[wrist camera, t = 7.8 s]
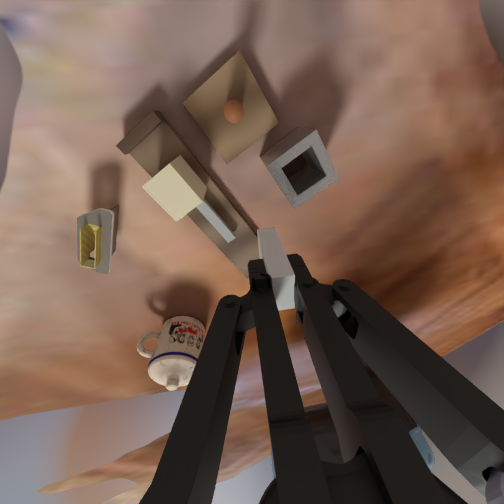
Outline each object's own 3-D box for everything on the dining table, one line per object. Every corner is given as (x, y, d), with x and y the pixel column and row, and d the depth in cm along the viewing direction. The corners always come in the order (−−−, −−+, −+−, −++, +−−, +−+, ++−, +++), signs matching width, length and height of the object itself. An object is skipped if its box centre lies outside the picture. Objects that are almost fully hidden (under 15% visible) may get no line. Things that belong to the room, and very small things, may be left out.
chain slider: (242, 230, 34) (244, 250, 29) (221, 244, 35) (220, 266, 29) (180, 155, 28) (169, 163, 22) (157, 174, 28) (141, 186, 23)
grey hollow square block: (318, 166, 31) (339, 178, 25) (282, 192, 33) (294, 208, 27) (297, 127, 28) (316, 129, 23) (259, 156, 30) (267, 165, 24)
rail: (274, 257, 39) (276, 265, 36) (246, 274, 40) (247, 283, 38) (158, 111, 26) (152, 110, 24) (124, 143, 28) (116, 145, 26)
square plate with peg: (276, 122, 28) (293, 124, 21) (226, 162, 30) (226, 176, 23) (238, 53, 24) (243, 26, 17) (184, 103, 26) (167, 98, 19)
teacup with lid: (213, 321, 45) (209, 378, 35) (196, 347, 49) (188, 405, 39) (154, 303, 42) (131, 362, 32) (140, 333, 45) (116, 394, 35)
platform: (68, 263, 36) (38, 290, 31) (63, 150, 28) (22, 158, 22) (145, 280, 39) (131, 307, 34) (162, 182, 31) (147, 196, 25)
